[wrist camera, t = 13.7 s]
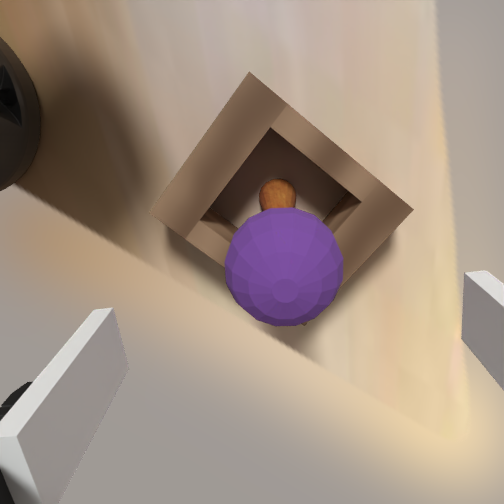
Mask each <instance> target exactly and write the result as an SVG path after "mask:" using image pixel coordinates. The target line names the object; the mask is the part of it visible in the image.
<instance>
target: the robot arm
mask: <svg viewBox="0 0 504 504" xmlns="http://www.w3.org/2000/svg"><path fill="white" fill-rule="evenodd" d="M39 137H40V110H39V104H38V100H37V96H36V92H35V90H34V87H33V84H32V82H31V79H30V77H29V75H28V73H27V71H26V69H25V68H24V66H23V64H22V63H21V61H20V60H19V58H18V57H17V55H16V54H15V53H14V51H13V50H12V49H11V48H10V47H9V45H8V44H7V43H6V42H5V41H4V40H3V39H2V38H1V37H0V191H2V190H4V189H6V188H7V187H9V186H11V185H12V184H13V183H15V182H16V181H17V180H18V179H19V178H20V177H21V176H22V175H23V174H24V173H25V171H26V170H27V169H28V167H29V166H30V164H31V162H32V160H33V158H34V156H35V153H36V150H37V147H38V143H39ZM461 339H462V340H463V341H464V343H465V344H466V345H467V346H468V347H469V349H470V350H471V351H472V352H473V354H474V355H475V356H476V357H477V358H478V360H479V361H480V362H481V363H482V365H483V366H484V367H485V368H486V369H487V371H488V372H489V373H490V374H491V376H492V377H493V378H494V379H495V380H496V382H497V383H498V384H499V385H500V387H501V388H502V389H503V390H504V284H503V283H502V282H501V281H499V280H498V279H496V278H495V277H494V276H493V275H491V274H490V273H489V272H488V271H475V272H466V273H464V290H463V314H462V338H461ZM128 369H129V366H128V362H127V358H126V355H125V351H124V347H123V344H122V339H121V336H120V332H119V328H118V324H117V321H116V317H115V312H114V309H113V308H106V309H95V310H93V312H92V313H91V314H90V315H89V316H88V317H87V319H86V320H85V321H84V322H83V323H82V325H81V326H80V327H79V328H78V329H77V331H76V332H75V333H74V334H73V335H72V336H71V338H70V339H69V340H68V341H67V342H66V344H65V345H64V346H63V347H62V349H61V350H60V351H59V352H58V353H57V354H56V355H55V357H54V358H53V359H52V360H51V362H50V363H49V364H48V365H47V366H46V368H45V369H44V370H43V371H42V372H41V373H40V375H39V376H38V377H37V378H36V379H35V381H34V382H27V383H26V384H24V385H23V386H21V387H20V388H19V389H17V390H16V391H14V392H13V393H12V394H11V395H10V396H9V397H8V398H7V399H6V401H5V402H4V403H3V404H2V407H0V504H58V503H59V501H60V499H61V497H62V496H63V494H64V492H65V490H66V488H67V486H68V484H69V482H70V480H71V478H72V476H73V475H74V472H75V471H76V469H77V467H78V465H79V463H80V461H81V459H82V457H83V455H84V454H85V451H86V450H87V448H88V446H89V444H90V442H91V440H92V438H93V436H94V434H95V432H96V430H97V429H98V427H99V425H100V423H101V421H102V419H103V417H104V415H105V413H106V411H107V410H108V408H109V406H110V404H111V402H112V400H113V398H114V396H115V394H116V392H117V390H118V388H119V387H120V385H121V383H122V381H123V379H124V377H125V375H126V373H127V371H128Z"/></svg>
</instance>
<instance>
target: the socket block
mask: <svg viewBox="0 0 504 504" xmlns="http://www.w3.org/2000/svg"><path fill="white" fill-rule="evenodd" d="M270 127H271V128H272V129H274V130H275V131H276V132H277V133H278V134H280V135H281V136H282V137H283V138H285V139H286V140H287V141H288V142H289V143H291V144H292V145H293V146H294V147H296V148H297V149H298V150H299V151H300V152H302V153H303V154H304V155H305V156H307V157H308V158H309V159H310V160H311V161H313V162H314V163H315V164H316V165H318V166H319V167H320V168H321V169H322V170H324V171H325V172H326V173H327V174H329V175H330V176H331V177H332V178H333V179H335V180H336V181H337V182H338V183H340V184H341V185H342V186H343V187H344V188H346V189H347V190H348V191H349V192H348V193H347V194H346V195H345V196H344V197H343V198H342V200H341V201H340V202H339V203H338V204H337V205H336V207H335V208H334V209H333V210H332V211H331V212H330V213H329V215H328V216H327V217H326V218H325V219H324V220H323V221H322V222H323V223H324V224H325V225H326V226H327V227H328V228H329V229H330V230H331V231H332V233H333V235H334V237H335V240H336V242H337V244H338V247H339V249H340V251H341V254H342V256H343V281H342V283H341V285H340V287H341V286H342V285H343V284H344V283H345V282H346V281H347V280H348V279H349V278H350V277H351V276H352V275H353V274H354V273H355V271H356V270H357V269H358V268H359V267H360V266H361V265H362V264H363V263H364V262H365V261H366V260H367V259H368V258H369V257H370V256H371V254H372V253H373V252H374V251H375V250H376V249H377V248H378V247H379V246H380V245H381V244H382V243H383V242H384V241H385V240H386V239H387V237H388V236H389V235H390V234H391V233H392V232H393V231H394V230H395V229H396V228H397V227H398V226H399V225H400V224H401V223H402V222H403V220H404V219H405V218H406V217H407V216H408V215H409V214H410V213H411V212H412V211H413V210H414V209H412V208H411V207H410V206H409V205H408V204H407V203H405V202H404V201H403V200H402V199H401V198H399V197H398V196H397V195H396V194H395V193H393V192H392V191H391V190H390V189H389V188H387V187H386V186H385V185H384V184H383V183H381V182H380V181H379V180H378V179H377V178H375V177H374V176H373V175H372V174H371V173H370V172H368V171H367V170H366V169H365V168H364V167H362V166H361V165H360V164H359V163H358V162H356V161H355V160H354V159H353V158H352V157H350V156H349V155H348V154H347V153H346V152H344V151H343V150H342V149H341V148H340V147H338V146H337V145H336V144H335V143H334V142H333V141H331V140H330V139H329V138H328V137H327V136H325V135H324V134H323V133H322V132H321V131H319V130H318V129H317V128H316V127H315V126H313V125H312V124H311V123H310V122H309V121H307V120H306V119H305V118H304V117H303V116H301V115H300V114H299V113H298V112H297V111H296V110H294V109H293V108H292V107H291V106H290V105H288V104H287V103H286V102H285V101H284V100H282V99H281V98H280V97H279V96H278V95H276V94H275V93H274V92H273V91H272V90H270V89H269V88H268V87H267V86H266V85H265V84H263V83H262V82H261V81H260V80H259V79H257V78H256V77H255V76H254V75H253V74H251V73H250V72H249V73H248V74H247V76H246V77H245V78H244V80H243V81H242V83H241V84H240V85H239V87H238V88H237V90H236V91H235V92H234V94H233V95H232V97H231V98H230V100H229V101H228V102H227V104H226V105H225V107H224V108H223V109H222V111H221V112H220V114H219V115H218V116H217V118H216V119H215V121H214V122H213V123H212V125H211V126H210V128H209V129H208V130H207V132H206V133H205V135H204V136H203V138H202V139H201V140H200V142H199V143H198V145H197V146H196V147H195V149H194V150H193V152H192V153H191V154H190V156H189V157H188V159H187V160H186V161H185V163H184V164H183V166H182V167H181V168H180V170H179V171H178V173H177V174H176V176H175V177H174V178H173V180H172V181H171V183H170V184H169V185H168V187H167V188H166V190H165V191H164V192H163V194H162V195H161V197H160V198H159V199H158V201H157V202H156V204H155V205H154V206H153V208H152V209H151V211H150V212H149V213H150V214H151V215H152V216H154V217H155V218H157V219H158V220H159V221H161V222H162V223H163V224H165V225H166V226H168V227H169V228H170V229H172V230H173V231H174V232H176V233H177V234H179V235H180V236H181V237H183V238H184V239H185V240H187V241H188V242H190V243H191V244H192V245H194V246H195V247H196V248H198V249H199V250H201V251H202V252H203V253H205V254H206V255H207V256H209V257H210V258H212V259H213V260H214V261H216V262H217V263H218V264H220V265H221V266H223V267H224V268H225V258H226V255H227V252H228V249H229V246H230V244H231V241H232V238H233V235H234V233H235V232H236V231H237V230H238V228H237V227H235V226H234V225H233V224H231V223H230V222H229V221H227V220H226V219H225V218H223V217H222V216H221V215H219V214H218V213H217V212H215V211H214V210H213V209H211V208H210V206H211V204H212V203H213V202H214V200H215V199H216V198H217V197H218V195H219V194H220V193H221V191H222V190H223V189H224V187H225V186H226V185H227V183H228V182H229V181H230V179H231V178H232V177H233V175H234V174H235V173H236V172H237V170H238V169H239V168H240V166H241V165H242V164H243V162H244V161H245V160H246V158H247V157H248V156H249V154H250V153H251V152H252V150H253V149H254V148H255V147H256V145H257V144H258V143H259V141H260V140H261V139H262V137H263V136H264V135H265V133H266V132H267V131H268V129H269V128H270ZM340 287H339V288H340ZM338 290H339V289H338ZM307 322H308V321H306V322H304V323H301V324H302V325H304V326H305V325H306V324H307Z"/></svg>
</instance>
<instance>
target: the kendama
mask: <svg viewBox="0 0 504 504" xmlns="http://www.w3.org/2000/svg"><path fill="white" fill-rule="evenodd" d="M259 202H260V204H261V206H262V209H263V212H261V213H259V214H256V215H254V216H252V217H250V218H248V219H247V221H246V222H245V223H244V224H243V225H242V226H241V227H240V228H239V229H238V230H237V231H236V232H235V233H234V235H233V238H232V241H231V244H230V246H229V249H228V252H227V255H226V258H225V275H226V284H227V286H228V288H229V290H230V292H231V293H232V295H233V297H234V299H235V301H236V303H238V304H239V305H240V306H241V307H242V308H243V309H244V310H246V311H247V312H248V313H249V314H251V315H252V316H253V317H254V318H255V319H257V320H259V321H262V322H265V323H268V324H271V325H274V326H296V325H299V324H301V323H304V322H306V321H309V320H311V319H314V318H315V317H316V316H317V315H319V314H320V313H321V312H322V311H323V310H324V309H325V308H326V307H327V306H328V305H329V304H330V303H331V302H332V301H333V300H334V298H335V295H336V293H337V291H338V289H339V287H340V285H341V283H342V281H343V256H342V254H341V251H340V249H339V247H338V244H337V242H336V240H335V237H334V235H333V233H332V231H331V230H330V229H329V228H328V227H327V226H326V225H325V224H324V223H323V222H322V221H320V220H319V219H318V218H317V217H316V216H315V215H313V214H310V213H307V212H304V211H302V210H299V209H296V208H294V207H295V203H296V192H295V190H294V187H293V186H292V185H291V184H290V183H289V182H288V181H285V180H283V179H273V180H270V181H268V182H266V183H265V185H264V186H263V187H262V188H261V191H260V193H259Z"/></svg>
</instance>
